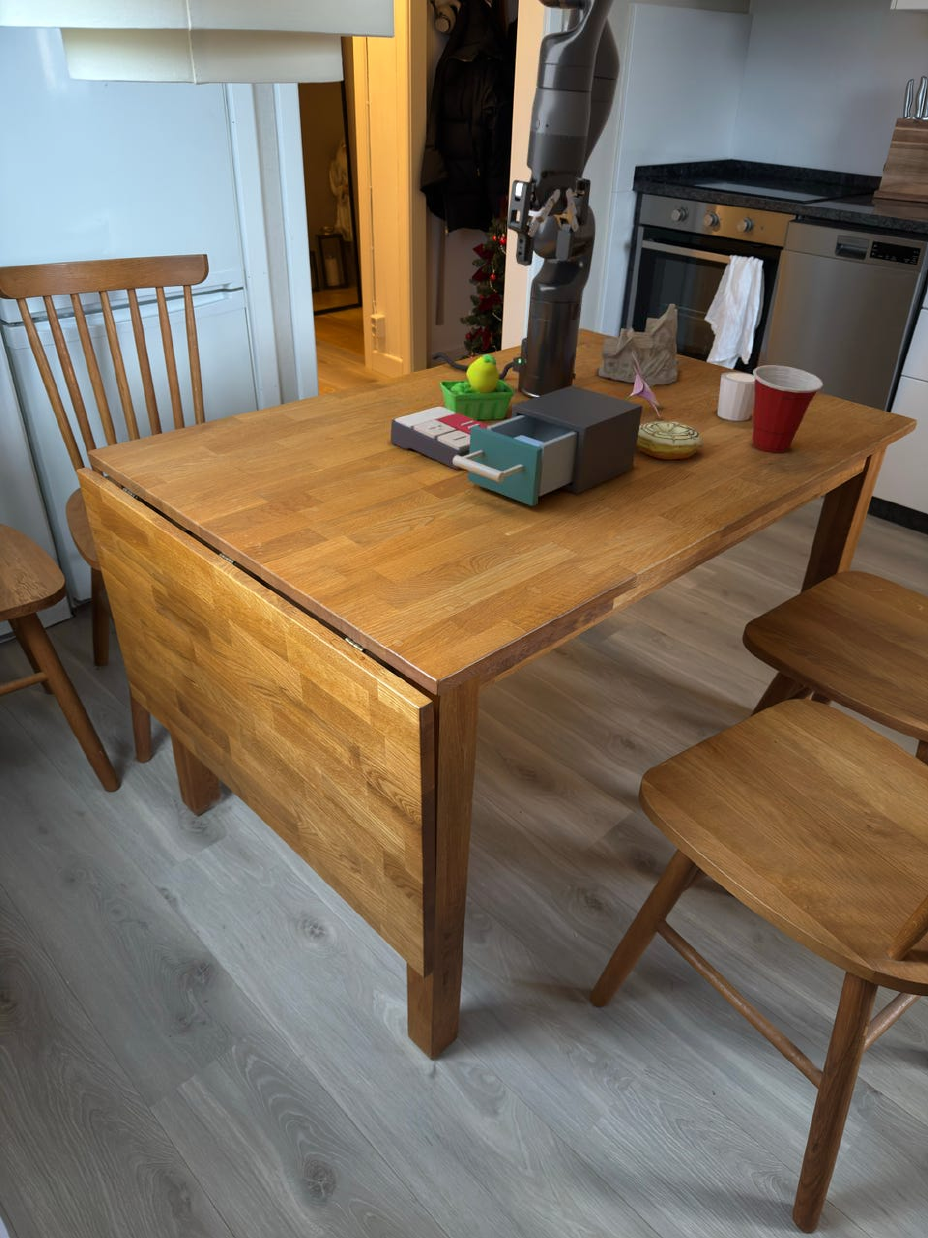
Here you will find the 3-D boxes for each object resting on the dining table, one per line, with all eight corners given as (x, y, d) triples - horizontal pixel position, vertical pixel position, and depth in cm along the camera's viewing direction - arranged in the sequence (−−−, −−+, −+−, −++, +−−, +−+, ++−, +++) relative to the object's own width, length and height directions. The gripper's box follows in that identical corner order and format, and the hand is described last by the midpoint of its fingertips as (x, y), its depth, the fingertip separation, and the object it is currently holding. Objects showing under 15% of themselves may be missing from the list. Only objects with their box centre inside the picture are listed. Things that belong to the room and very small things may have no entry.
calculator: (459, 447, 130) (390, 415, 138) (457, 474, 133) (389, 441, 141) (509, 431, 137) (440, 401, 145) (506, 457, 140) (438, 426, 148)
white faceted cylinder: (757, 422, 158) (765, 383, 154) (718, 420, 158) (726, 381, 154) (747, 410, 164) (755, 372, 160) (710, 408, 164) (717, 370, 160)
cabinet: (577, 494, 127) (585, 427, 122) (507, 468, 134) (512, 404, 129) (633, 467, 137) (642, 405, 132) (565, 445, 144) (572, 385, 139)
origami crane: (641, 434, 153) (676, 386, 149) (588, 394, 156) (621, 346, 152) (657, 435, 164) (690, 391, 160) (607, 398, 166) (638, 353, 163)
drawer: (506, 517, 117) (510, 460, 113) (441, 491, 123) (443, 436, 119) (589, 479, 129) (596, 427, 125) (526, 457, 136) (531, 406, 132)
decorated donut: (713, 453, 144) (717, 430, 142) (672, 467, 137) (676, 444, 136) (661, 434, 150) (665, 412, 148) (620, 447, 144) (623, 424, 142)
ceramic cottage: (684, 367, 186) (692, 292, 178) (670, 391, 173) (678, 311, 165) (610, 361, 191) (615, 288, 183) (591, 384, 178) (595, 306, 170)
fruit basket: (498, 406, 159) (503, 342, 153) (516, 423, 152) (522, 356, 146) (437, 410, 156) (439, 344, 150) (452, 427, 148) (455, 359, 143)
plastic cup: (766, 462, 142) (784, 387, 135) (724, 439, 150) (739, 367, 144) (819, 455, 145) (839, 382, 139) (775, 432, 154) (792, 363, 148)
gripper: (546, 133, 109) (531, 272, 118) (614, 133, 118) (595, 262, 127) (500, 126, 113) (489, 261, 122) (569, 126, 122) (554, 252, 131)
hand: (543, 261), depth 125 cm, fingers open, 8 cm apart
